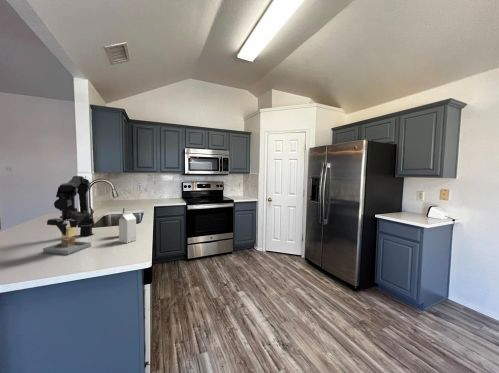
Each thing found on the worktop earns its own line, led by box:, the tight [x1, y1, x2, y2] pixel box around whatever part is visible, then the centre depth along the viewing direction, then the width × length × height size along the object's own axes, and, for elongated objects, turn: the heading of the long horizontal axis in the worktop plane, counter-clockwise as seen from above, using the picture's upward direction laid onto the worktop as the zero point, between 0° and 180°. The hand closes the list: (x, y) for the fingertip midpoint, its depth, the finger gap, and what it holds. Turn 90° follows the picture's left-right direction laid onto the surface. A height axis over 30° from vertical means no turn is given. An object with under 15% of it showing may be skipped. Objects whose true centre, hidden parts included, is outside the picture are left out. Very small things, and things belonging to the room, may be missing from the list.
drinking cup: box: [117, 207, 125, 225], centre depth 153 cm, size 8×8×20 cm
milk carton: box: [118, 211, 137, 244], centre depth 142 cm, size 7×7×19 cm
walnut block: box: [60, 236, 76, 247], centre depth 129 cm, size 4×4×4 cm
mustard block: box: [61, 226, 77, 238], centre depth 122 cm, size 4×4×4 cm
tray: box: [42, 240, 92, 256], centre depth 125 cm, size 14×16×2 cm
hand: (68, 234), depth 122 cm, fingers closed on mustard block, 4 cm apart
